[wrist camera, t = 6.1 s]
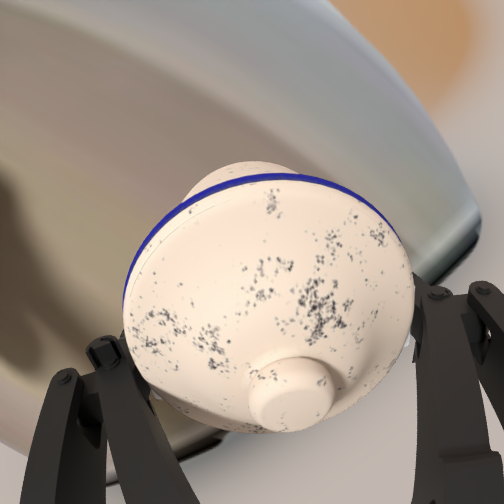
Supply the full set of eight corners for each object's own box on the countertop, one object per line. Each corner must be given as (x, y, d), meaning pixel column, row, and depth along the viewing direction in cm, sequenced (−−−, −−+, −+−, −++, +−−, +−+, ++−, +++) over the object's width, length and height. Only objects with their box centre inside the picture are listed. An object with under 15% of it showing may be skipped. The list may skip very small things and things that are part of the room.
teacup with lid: (139, 209, 16) (10, 336, 5) (290, 126, 15) (428, 106, 4) (244, 364, 20) (260, 526, 9) (367, 304, 19) (464, 440, 8)
